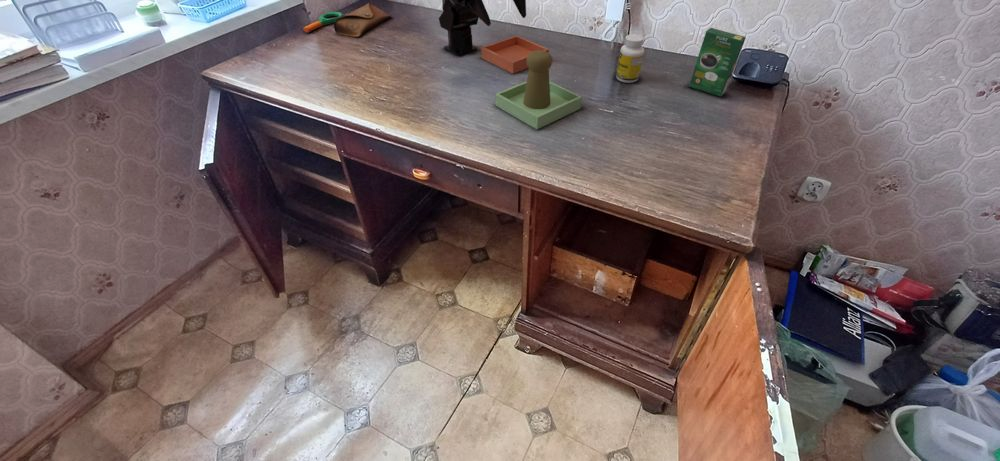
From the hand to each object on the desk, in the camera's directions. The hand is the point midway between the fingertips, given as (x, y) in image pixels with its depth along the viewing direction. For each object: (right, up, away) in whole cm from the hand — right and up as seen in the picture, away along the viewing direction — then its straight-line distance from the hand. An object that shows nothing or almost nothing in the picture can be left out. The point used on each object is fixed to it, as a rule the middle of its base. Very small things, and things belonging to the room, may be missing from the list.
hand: (507, 20), depth 103 cm
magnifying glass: (-54, +15, +36) cm, 67 cm away
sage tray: (+7, -19, 0) cm, 20 cm away
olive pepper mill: (+6, -18, 0) cm, 19 cm away
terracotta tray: (+2, -2, +18) cm, 18 cm away
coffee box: (+46, -14, +5) cm, 49 cm away
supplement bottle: (+29, -10, +10) cm, 32 cm away
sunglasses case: (-42, +14, +36) cm, 57 cm away
